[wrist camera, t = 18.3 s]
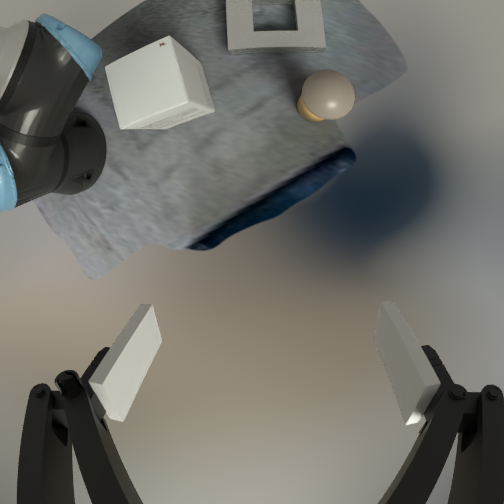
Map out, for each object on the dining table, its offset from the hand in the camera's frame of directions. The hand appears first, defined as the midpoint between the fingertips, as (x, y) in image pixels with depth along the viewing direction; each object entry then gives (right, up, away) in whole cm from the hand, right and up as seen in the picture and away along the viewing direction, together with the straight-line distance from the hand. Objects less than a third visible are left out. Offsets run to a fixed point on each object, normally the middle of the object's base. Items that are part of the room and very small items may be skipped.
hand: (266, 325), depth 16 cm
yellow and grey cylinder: (+8, +26, +23) cm, 36 cm away
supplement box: (-12, +28, +24) cm, 39 cm away
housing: (+3, +40, +18) cm, 44 cm away
